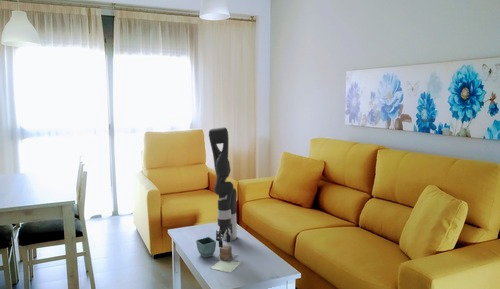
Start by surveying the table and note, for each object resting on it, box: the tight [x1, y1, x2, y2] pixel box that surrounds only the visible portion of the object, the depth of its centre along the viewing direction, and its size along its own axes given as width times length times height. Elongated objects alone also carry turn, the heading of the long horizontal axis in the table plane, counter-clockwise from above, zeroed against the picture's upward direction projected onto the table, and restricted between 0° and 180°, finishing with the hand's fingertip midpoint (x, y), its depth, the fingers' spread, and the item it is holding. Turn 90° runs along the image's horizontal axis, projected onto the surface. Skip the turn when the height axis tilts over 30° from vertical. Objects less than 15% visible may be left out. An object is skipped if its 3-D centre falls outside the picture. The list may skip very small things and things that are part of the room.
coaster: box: [210, 259, 242, 274], centre depth 205 cm, size 12×12×1 cm
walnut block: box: [219, 244, 233, 260], centre depth 215 cm, size 5×5×6 cm
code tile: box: [213, 253, 238, 262], centre depth 216 cm, size 10×10×1 cm
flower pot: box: [195, 236, 217, 259], centre depth 218 cm, size 9×9×9 cm
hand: (224, 244), depth 214 cm, fingers open, 8 cm apart
